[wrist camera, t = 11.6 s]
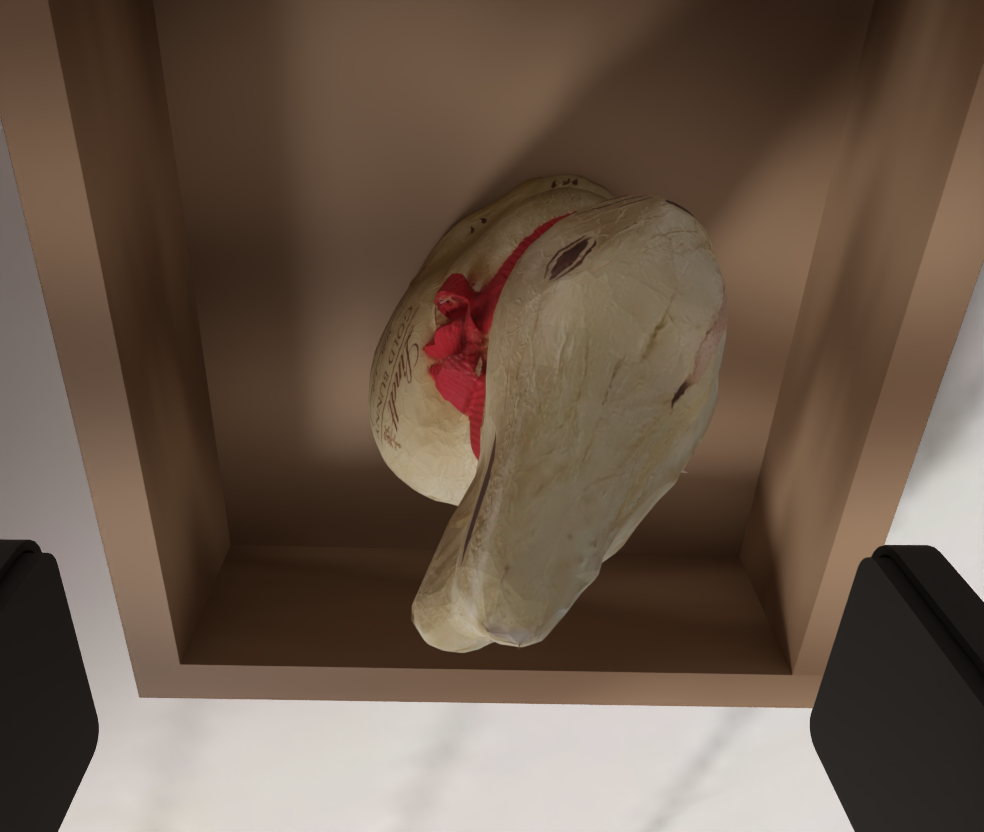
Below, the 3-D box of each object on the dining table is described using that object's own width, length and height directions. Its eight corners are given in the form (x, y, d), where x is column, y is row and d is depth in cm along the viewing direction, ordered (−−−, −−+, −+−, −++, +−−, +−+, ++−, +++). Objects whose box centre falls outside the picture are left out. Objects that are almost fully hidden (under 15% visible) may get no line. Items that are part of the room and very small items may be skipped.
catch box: (757, 562, 22) (826, 707, 18) (206, 549, 22) (139, 697, 17) (921, -73, 15) (1105, -89, 11) (99, -117, 14) (-64, -151, 10)
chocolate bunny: (721, 340, 18) (955, 697, 9) (417, 484, 20) (370, 900, 11) (619, 109, 16) (807, 294, 7) (283, 295, 17) (85, 636, 8)
